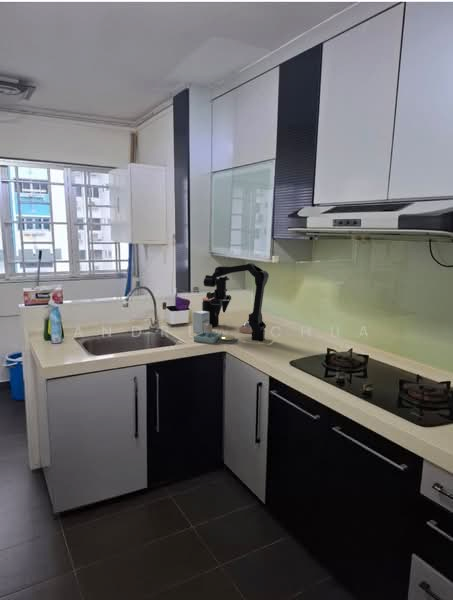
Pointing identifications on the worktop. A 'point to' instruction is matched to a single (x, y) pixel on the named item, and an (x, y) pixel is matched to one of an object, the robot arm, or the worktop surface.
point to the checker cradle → (227, 341)
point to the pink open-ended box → (245, 329)
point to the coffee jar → (210, 312)
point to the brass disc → (227, 337)
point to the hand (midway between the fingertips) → (220, 313)
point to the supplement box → (200, 321)
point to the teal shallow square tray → (203, 339)
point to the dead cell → (246, 325)
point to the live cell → (208, 330)
